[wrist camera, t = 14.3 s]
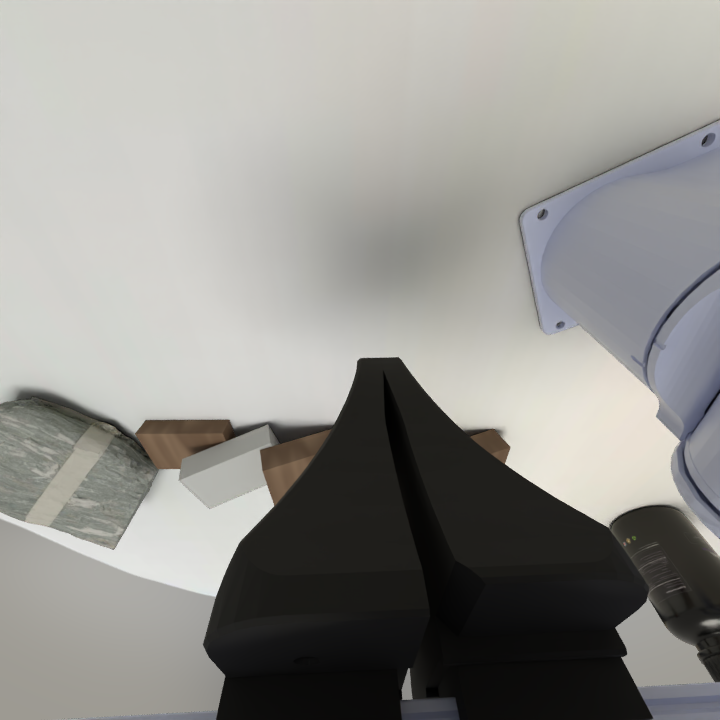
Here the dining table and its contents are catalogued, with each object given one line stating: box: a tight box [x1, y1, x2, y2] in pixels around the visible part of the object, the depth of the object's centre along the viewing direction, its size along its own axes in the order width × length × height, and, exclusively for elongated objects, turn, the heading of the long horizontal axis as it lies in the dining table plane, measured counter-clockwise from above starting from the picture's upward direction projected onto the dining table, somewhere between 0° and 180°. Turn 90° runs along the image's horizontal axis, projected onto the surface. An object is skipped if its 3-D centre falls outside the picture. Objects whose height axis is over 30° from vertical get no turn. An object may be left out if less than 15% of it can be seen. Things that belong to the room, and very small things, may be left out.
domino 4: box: [470, 429, 510, 464], centre depth 26 cm, size 2×4×7 cm
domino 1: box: [135, 420, 236, 469], centre depth 27 cm, size 2×4×7 cm
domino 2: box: [179, 425, 280, 509], centre depth 26 cm, size 2×4×7 cm
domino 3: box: [260, 429, 331, 506], centre depth 26 cm, size 2×4×7 cm
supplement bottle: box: [611, 506, 720, 682], centre depth 28 cm, size 7×7×12 cm
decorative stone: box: [0, 396, 159, 550], centre depth 26 cm, size 13×10×6 cm
